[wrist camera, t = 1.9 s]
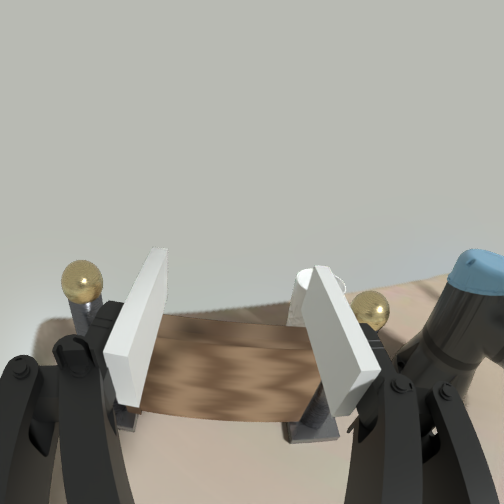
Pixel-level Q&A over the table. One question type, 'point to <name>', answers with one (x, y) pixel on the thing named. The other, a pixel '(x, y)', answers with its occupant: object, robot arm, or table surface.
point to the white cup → (299, 295)
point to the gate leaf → (229, 371)
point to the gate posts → (303, 431)
